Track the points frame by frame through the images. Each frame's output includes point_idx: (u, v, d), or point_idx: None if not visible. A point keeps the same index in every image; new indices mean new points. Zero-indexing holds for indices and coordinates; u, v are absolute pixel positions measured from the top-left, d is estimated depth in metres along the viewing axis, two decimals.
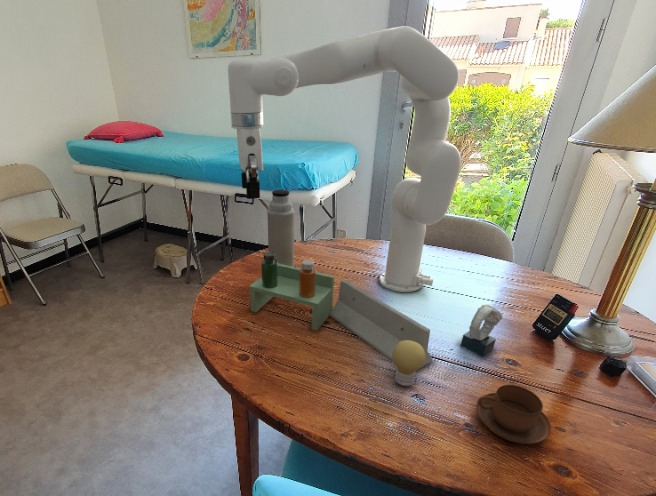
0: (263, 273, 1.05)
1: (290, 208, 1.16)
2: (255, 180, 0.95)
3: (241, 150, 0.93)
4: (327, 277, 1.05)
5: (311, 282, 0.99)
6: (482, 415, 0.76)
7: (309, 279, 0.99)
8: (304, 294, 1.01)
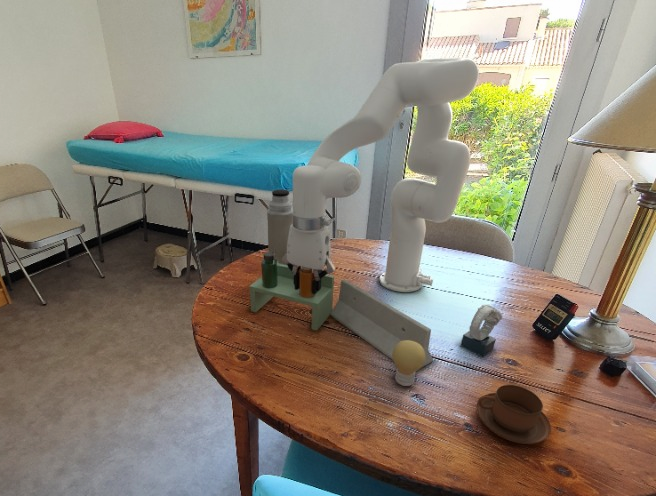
0: (263, 273, 1.05)
1: (290, 208, 1.16)
2: None
3: (319, 251, 0.93)
4: (327, 277, 1.05)
5: (311, 282, 0.99)
6: (482, 415, 0.76)
7: (309, 279, 0.99)
8: (304, 294, 1.01)
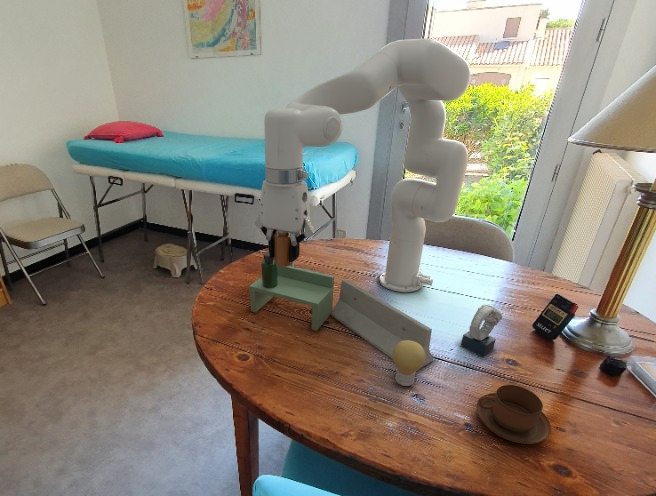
0: (263, 273, 1.05)
1: None
2: None
3: (295, 209, 0.81)
4: (327, 277, 1.05)
5: (288, 248, 0.87)
6: (482, 415, 0.76)
7: (285, 244, 0.86)
8: (280, 262, 0.89)
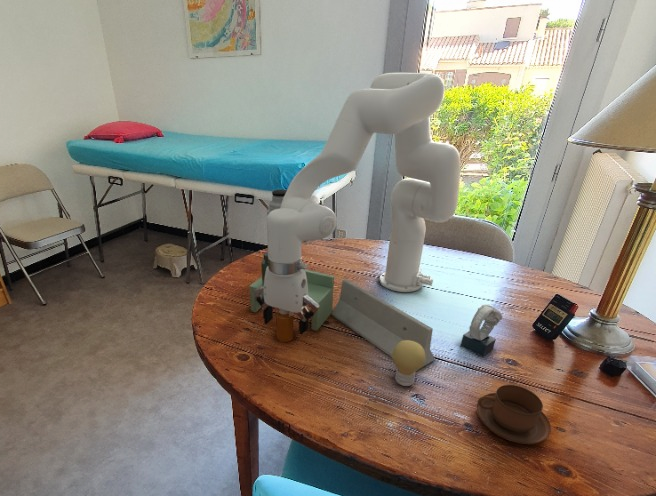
0: (263, 273, 1.05)
1: None
2: None
3: (295, 295, 0.91)
4: (327, 277, 1.05)
5: (288, 326, 0.97)
6: (482, 415, 0.76)
7: (285, 324, 0.96)
8: (281, 338, 0.98)
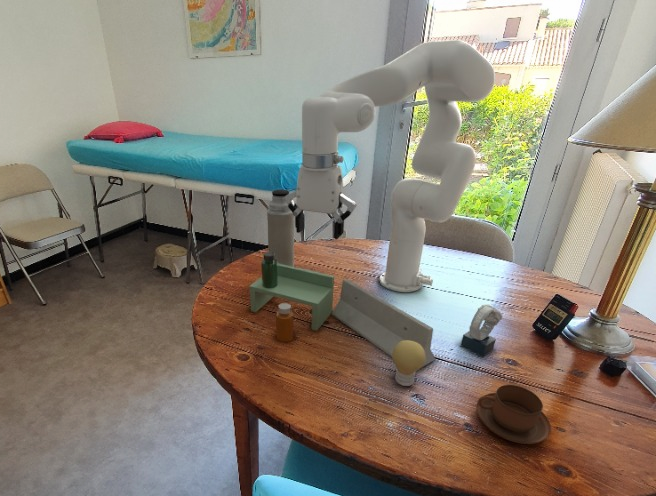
0: (263, 273, 1.05)
1: None
2: None
3: (331, 191, 0.87)
4: (327, 277, 1.05)
5: (288, 326, 0.97)
6: (482, 415, 0.76)
7: (285, 324, 0.96)
8: (281, 338, 0.98)
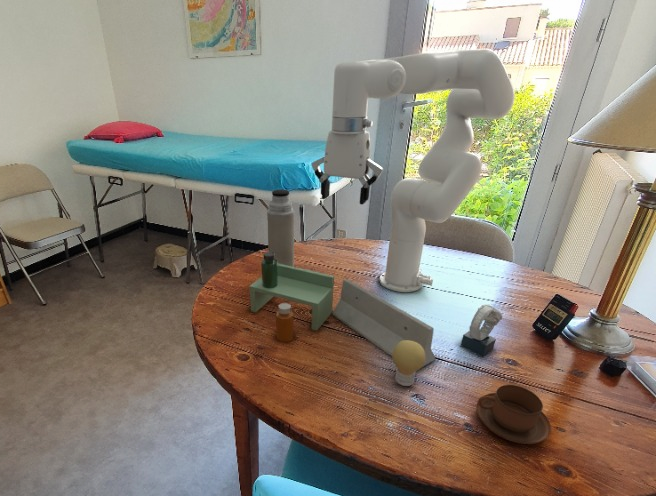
0: (263, 273, 1.05)
1: (290, 208, 1.16)
2: (372, 183, 0.93)
3: (359, 155, 0.89)
4: (327, 277, 1.05)
5: (288, 326, 0.97)
6: (482, 415, 0.76)
7: (285, 324, 0.96)
8: (281, 338, 0.98)
